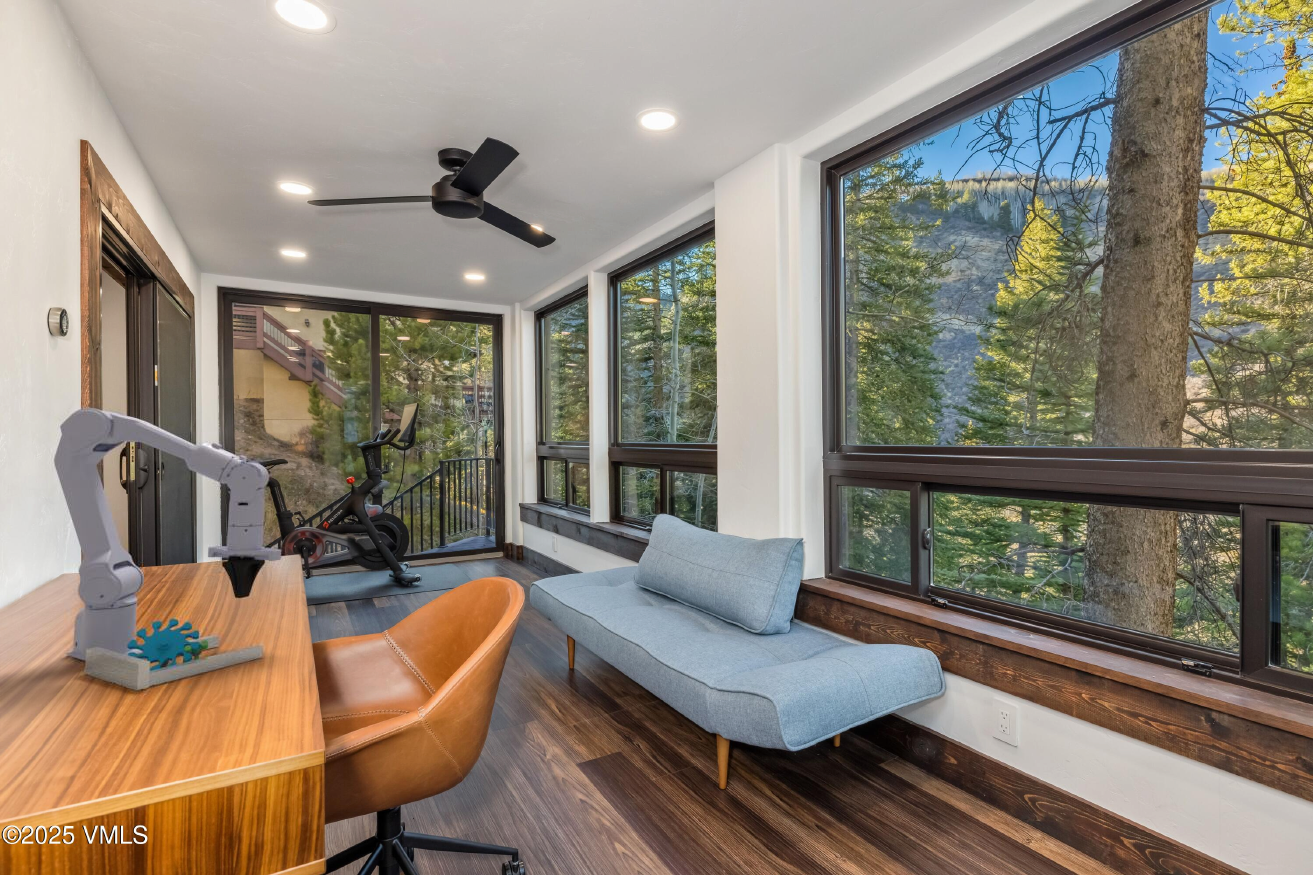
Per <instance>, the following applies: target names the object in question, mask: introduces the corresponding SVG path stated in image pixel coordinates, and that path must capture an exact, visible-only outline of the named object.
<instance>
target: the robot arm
mask: <svg viewBox="0 0 1313 875" xmlns="http://www.w3.org/2000/svg"><path fill="white" fill-rule="evenodd" d="M59 428H60V431H61V433H60V434H61V436H60V439H59V442H58V445H57V448H56V452H55V454H54V458H53V464H54V468H55V472H56V473H57V476H58V479H59V480H58V481H59V483H60V488H61V490H62V494H63V496H64V499H65V502H66V506H67V508H68V512H69V514H70V518H71V520H72V524H73V527H74V531H75V534H76V536H77V540H78V543H79V546H80V550H81V553H82V557H83V559H82V561H81V563H80V565H79V567H78V573H79V574H78V575H79V577H80V580H79V585H78V588H77V592H78V597H79V599H80V600H81V601H82V603H84V607H82V608H81V609H80V610H79V611H78V612H77V613H76V616H75V620H74V630H73V646H72V647H73V648H72V650H71V651H67V652H66V653H65V655H66V656H68V657H71V658H75V659H79V660H81V661H84V662H85V661H86V649H89V648H94V647H100V648H103V649H107V650H110V651H114V652H118V653H121V654H127V653H130V652H136V651H141V650H139V649H128V648H127V645H128V643H129V642H130V641H131V640H136V624H137V610H138V608H137V607H138V598H137V597H136V596H137V593H138V592H139V591H140V590H141V589H142V587H143V586H144V582H145V575H144V573H143V571H142V569H141V568H140V567H139V566H137V565H136V564H135V563H134V560H133V558H132V555H131V554H130V553H129V552H128V551H127V550H125V548H124V547H122V543H121V540H120V537H119V535H118V532H117V528H116V524H115V521H114V518H113V515H112V512H111V509H110V506H109V502H108V499H107V495H106V492H105V490H104V486H103V482H102V480H101V476H100V474H99V470H98V467H97V465H98V464H99V463H100V462H101V461H102V460H103V459H104V457H105V456H106V455H108V453H109V452H111V451H112V450H114V449H116V448H117V447H119V446H120V445H122V444H123V443H125V442H127V443H128V442H129V443H142V444H143V445H144V444H145V445H147V446H150V447H152V448H155V449H158V450H159V451H162V452H165V453H168V454H169V455H172V456H175V457H177V458H180V459H182V460H184V461H185V463H186V464H185V465H186V466H187V468H188V470H190V471H192V472H194V473H197V474H199V475H201V476H204V477H206V478H208V479H211V480H214V481H216V482H218V483H220V484H223V485H224V484H226V485H227V488H229V489H230V496H229V502H228V505H229V506H228V522H227V525H228V526H227V537H226V540H227V541H226V546H225V545H223V546H222V545H215V546H209V547H208V550H207V558H226V559H227V558H228V559H227V560H224V561H222V562H221V566H222V567H223V569H224V570H225V572H226V573H227V576H228V577H229V578H228V579H229V580H230V584H231V588H232V591H233V596H234V598H236V599H243V598H248V597H250V595H251V592H252V589H253V586H254V583H255V581H256V578H257V577H258V574H259V572H260V571H261V569H262V568H263V566H264V565H265V564H266V561H268V562H276V561H281V559H282V549H277V548H276V549H275V548H270V547H264V546H263V542H264V540H263V539H264V521H265V504H266V502H265V495H266V494H265V491H266V489H265V487H267V485H268V482H269V481H270V475H269V474H270V473H269V471H268V470H267V468H266V467H265V466H263V465H261V464H260V463H259V461H258V462H257V461H248V462H247V459H248V457H247V456H245V455H240V456H239V455H236V454H234V453H232V452H229V451H227V450H225V449H223V448H222V447H223V445H222V444H220V443H217V442H212V443H209V442H203V443H198V444H194V443H192V442H191V441H187V440H186V439H183V438H181V437H179V436H178V435H175V434H173V433H171V432H169V431H167V430H165V429H163V428H161V427H158V426H156V425H154V424H153V423H151V422H148V421H145V420H143V419H139V418H136V417H133V416H128V415H126V414H124V413H122V412H117V411H107V410H101V409H98V408H94V407H85V408H80V409H77V410H75V411H74V412H72V414H70V415H69V416H68V418H66V419H65V420H64V421H63V422H62V423H61V424H60V426H59Z"/></svg>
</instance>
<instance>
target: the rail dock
mask: <svg viewBox="0 0 1313 875" xmlns="http://www.w3.org/2000/svg"><path fill="white" fill-rule="evenodd" d="M219 637H220V636H219V635H216V634H212V635H207V636H202V637H199V639H192V638H191V639H189V640H187V641H189V642H199V643H200V646H201V642H202V641H204V640H207V641H208V648H207V649H205V650H209V649H214V648H218V647H219V641H220V639H219ZM135 653H136V654H141V653H143V651H136V652H135ZM263 657H264V646H263V645H261V644H256V645H251V646H248V647H244V648H240V649H239V648H238V649H235V650H231V651H227V652H223V653H218V654H214V655H210V656H206V657H203V658H199V659H197V660H194V659H192V660H191V661H189V662H185V663H184V662H181V663H177V664H176V665H172V666H168V665H167V666H165V667H161V668H160V669H156V670H151V671H150V668H151V664H150V661H147V660H148V659H147V658H141V659H139V658H135V657H132V656H128V653H127V654H121V653H118V652H114V651H110V650H107V649H103V648H100V647H94V648H89V649H86V661H84V662H85V664H84V665H85V666H84V675H86V674H87V676H90V677H92V678H96V679H98V680H102V681H106V682H108V683H111V682H112V683H111V684H114V683H116V684H115V685H117V684H118V685H117V686H121V685H123V686H122V687H124V686H125V687H124V688H127V689H129V690H133V689H134V691H137V692H138V690H139V691H141V689H143V690H145V689H149V688H150V687H154V686H158V685H162V684H165V682H166V683H169V682H173V681H177V680H181V679H184V678H188V677H193V676H196V675H199V674H203V673H208V672H211V671H216V670H219V669H222V668H227V667H231V666H235V665H238V664H242V663H247V662H250V661H253V660H258V659H261V658H263ZM153 685H154V686H153Z"/></svg>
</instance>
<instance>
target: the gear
mask: <svg viewBox="0 0 1313 875" xmlns="http://www.w3.org/2000/svg"><path fill="white" fill-rule="evenodd" d="M168 621H169V622H168V625H167V626H166V627H165V628H164V629H162V630H160V629H161V628H162V626H163V625H162V621H161V620H156V621H153V622H152V623H151V628H152V629H153V633H152V634H151V635H148V636H147V629H146V628H145V627H143V628H140V629H139V630H137V631H136V636H137V638H140V639H142V640H143V641H144V643H143V644H139V643H138V642H137V639H135V640H131V641H130V642H129V643H128V645H127V648H128V649H139V650H141V651H143V653H141V654H136V653H135V652H130V653H128V656H132V657H135V658H139V659H141V658H147V659H148V660H147V661H150V665H151V664H154V663H157V664H154V665H152V666H150V671H151V670H156V669H160V668H162V667H163V665H164V664H167V667H168V666H172V665H176V664H178V662H176V660H177V657H182V663H185V662H189V661H193V660H197V659H200V656H201V655H202V654H203V653H202V652H203V651H204V650H205V649H206V650H208V649H207V648H208V641H207V640H204V641H202V642H201V646H200V643H199V642H189V641H188V640H187V639H188V638H190V639H191V640H192V639H199V638H200V630H199V629H198V630H193V625H192V623H191V622H190V621H186V622H184V623H183V624H182V625H181V626H179V624H180V623H179V622H180V621H179V619H176V618H173V617H172V618H170V619H169V620H168ZM177 626H179V627H177ZM175 627H177V628H175ZM172 628H175V629H172ZM191 630H193V631H192V632H187V631H191ZM183 631H184V632H185V631H186V632H185V633H183ZM167 662H168V663H167ZM169 662H170V663H169Z"/></svg>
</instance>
